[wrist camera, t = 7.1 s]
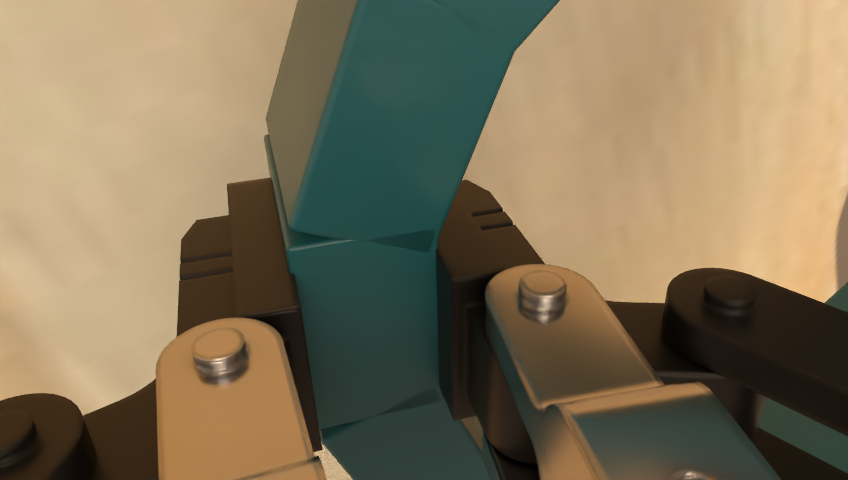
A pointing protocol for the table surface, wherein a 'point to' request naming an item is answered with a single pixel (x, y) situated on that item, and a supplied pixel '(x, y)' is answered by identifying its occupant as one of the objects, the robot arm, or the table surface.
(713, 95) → the table surface
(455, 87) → the ring
